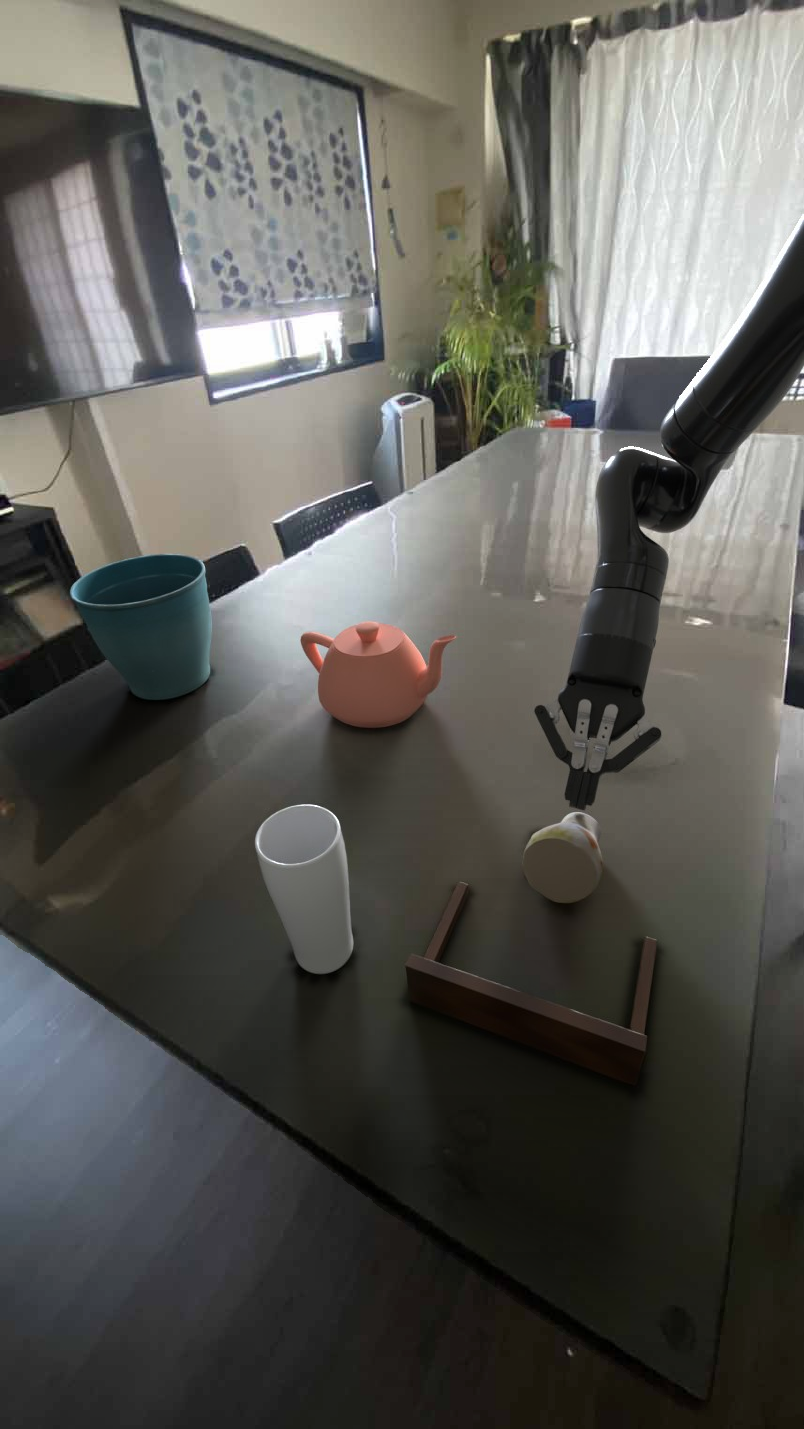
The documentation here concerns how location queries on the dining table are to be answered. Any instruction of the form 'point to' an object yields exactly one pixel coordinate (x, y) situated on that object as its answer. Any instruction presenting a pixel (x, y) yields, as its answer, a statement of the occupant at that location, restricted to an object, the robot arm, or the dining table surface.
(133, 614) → the flower pot
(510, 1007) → the walnut rack
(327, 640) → the teapot
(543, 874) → the mug
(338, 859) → the drinking glass
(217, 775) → the dining table surface
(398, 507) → the dining table surface
